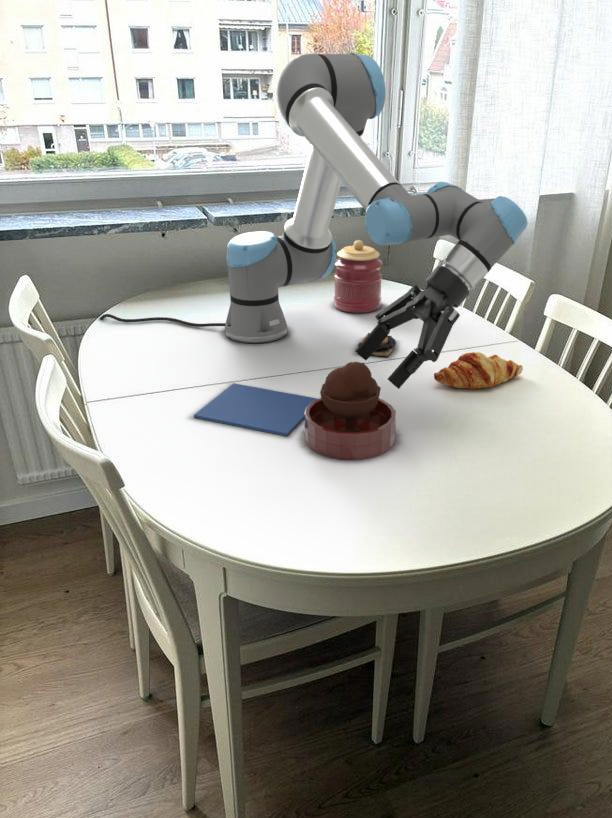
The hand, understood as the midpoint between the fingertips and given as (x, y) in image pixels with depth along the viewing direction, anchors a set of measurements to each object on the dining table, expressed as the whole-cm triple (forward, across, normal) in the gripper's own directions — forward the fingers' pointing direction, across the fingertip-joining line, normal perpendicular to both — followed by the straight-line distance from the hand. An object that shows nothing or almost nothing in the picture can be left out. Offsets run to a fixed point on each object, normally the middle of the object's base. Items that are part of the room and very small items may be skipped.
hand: (375, 369), depth 131 cm
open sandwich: (-4, +38, -22) cm, 45 cm away
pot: (+13, 0, -6) cm, 14 cm away
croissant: (-13, +12, -31) cm, 36 cm away
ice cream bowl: (+12, 0, -6) cm, 14 cm away
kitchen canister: (-10, +68, -28) cm, 75 cm away
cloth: (+21, +18, +3) cm, 28 cm away
